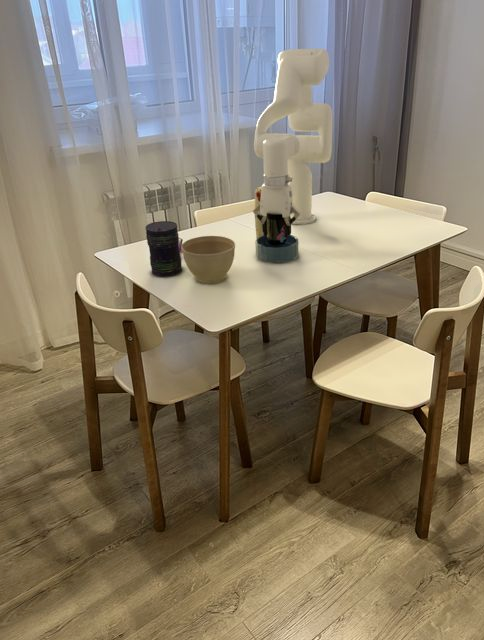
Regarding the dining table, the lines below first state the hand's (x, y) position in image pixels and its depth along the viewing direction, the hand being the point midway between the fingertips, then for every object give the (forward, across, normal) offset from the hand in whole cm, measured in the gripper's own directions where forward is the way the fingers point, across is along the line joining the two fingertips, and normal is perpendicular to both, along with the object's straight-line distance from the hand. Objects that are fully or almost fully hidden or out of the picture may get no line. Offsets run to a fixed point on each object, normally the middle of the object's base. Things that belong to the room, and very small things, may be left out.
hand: (276, 235), depth 177 cm
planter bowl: (+8, +14, +23) cm, 28 cm away
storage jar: (+8, +30, +22) cm, 38 cm away
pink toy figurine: (+8, +34, +7) cm, 36 cm away
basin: (+7, 0, 0) cm, 7 cm away
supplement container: (+3, 0, 0) cm, 3 cm away
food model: (+8, +8, -13) cm, 17 cm away
